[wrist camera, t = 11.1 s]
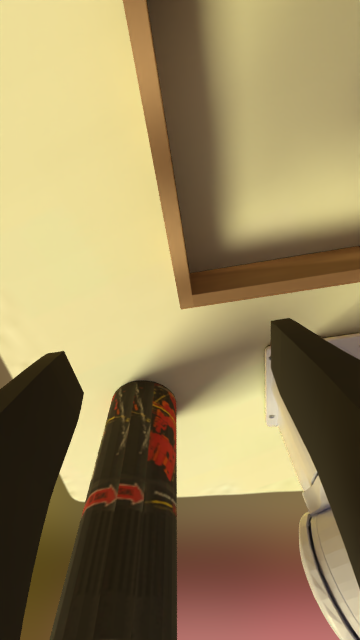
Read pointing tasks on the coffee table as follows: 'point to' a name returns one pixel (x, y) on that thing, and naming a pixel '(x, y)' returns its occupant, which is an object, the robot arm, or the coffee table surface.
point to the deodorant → (127, 527)
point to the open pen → (190, 286)
